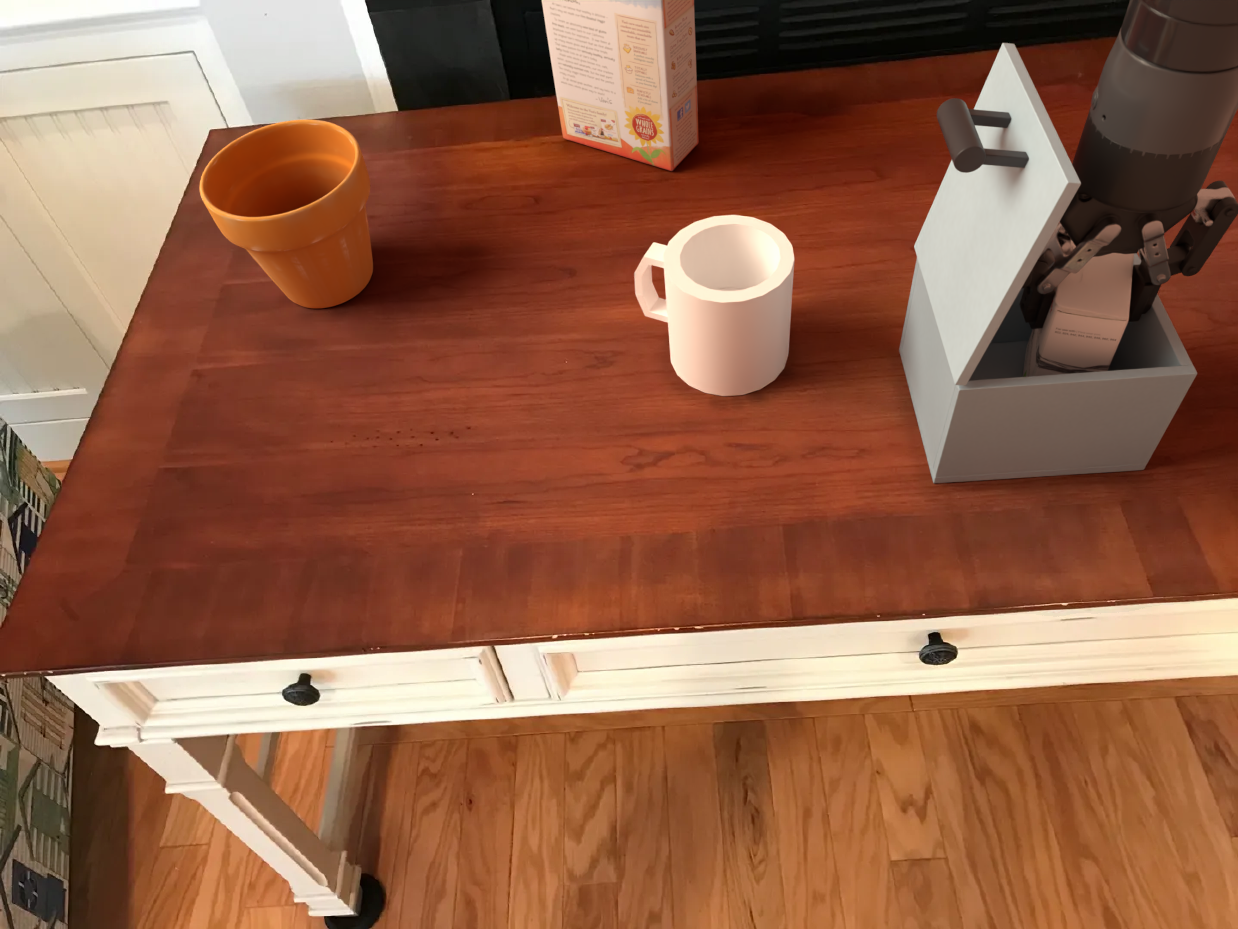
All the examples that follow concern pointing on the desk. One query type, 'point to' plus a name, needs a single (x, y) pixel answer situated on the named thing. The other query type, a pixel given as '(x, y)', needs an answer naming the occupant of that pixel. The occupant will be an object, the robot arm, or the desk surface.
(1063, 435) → the chest
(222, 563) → the desk surface
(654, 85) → the cracker box
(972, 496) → the desk surface
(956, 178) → the freezer lid
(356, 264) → the flower pot
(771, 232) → the mug
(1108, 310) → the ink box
